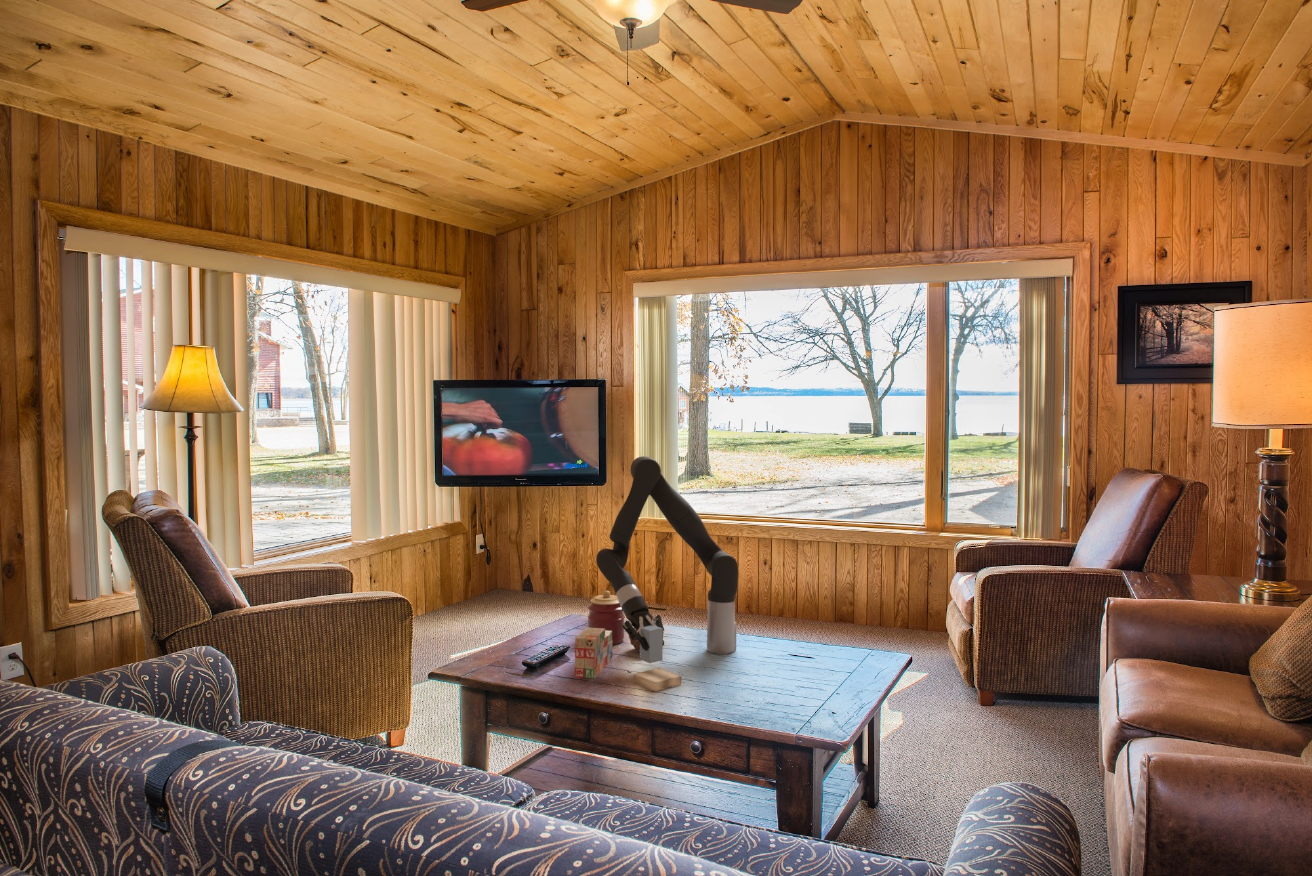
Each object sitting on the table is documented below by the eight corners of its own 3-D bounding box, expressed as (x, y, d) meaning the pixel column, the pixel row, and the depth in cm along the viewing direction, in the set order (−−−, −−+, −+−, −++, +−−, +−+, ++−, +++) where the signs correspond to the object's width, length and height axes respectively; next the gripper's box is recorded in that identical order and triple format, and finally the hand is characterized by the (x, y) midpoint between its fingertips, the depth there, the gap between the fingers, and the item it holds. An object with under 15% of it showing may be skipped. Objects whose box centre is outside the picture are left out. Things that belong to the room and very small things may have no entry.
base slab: (659, 677, 254) (659, 667, 254) (681, 686, 246) (681, 675, 246) (633, 683, 247) (633, 673, 247) (655, 692, 240) (655, 682, 240)
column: (652, 656, 261) (652, 624, 261) (662, 660, 257) (662, 628, 257) (639, 659, 258) (639, 627, 258) (649, 663, 254) (649, 630, 254)
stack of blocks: (593, 657, 272) (594, 620, 272) (612, 659, 271) (613, 621, 270) (574, 677, 251) (575, 636, 251) (594, 679, 250) (595, 638, 250)
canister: (609, 647, 283) (610, 596, 283) (579, 641, 290) (580, 591, 290) (631, 639, 294) (632, 590, 294) (602, 633, 301) (602, 585, 301)
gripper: (618, 598, 259) (641, 645, 249) (654, 592, 267) (678, 637, 258) (608, 611, 263) (631, 658, 254) (644, 605, 272) (667, 650, 263)
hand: (654, 647), depth 256 cm, fingers closed on column, 5 cm apart
